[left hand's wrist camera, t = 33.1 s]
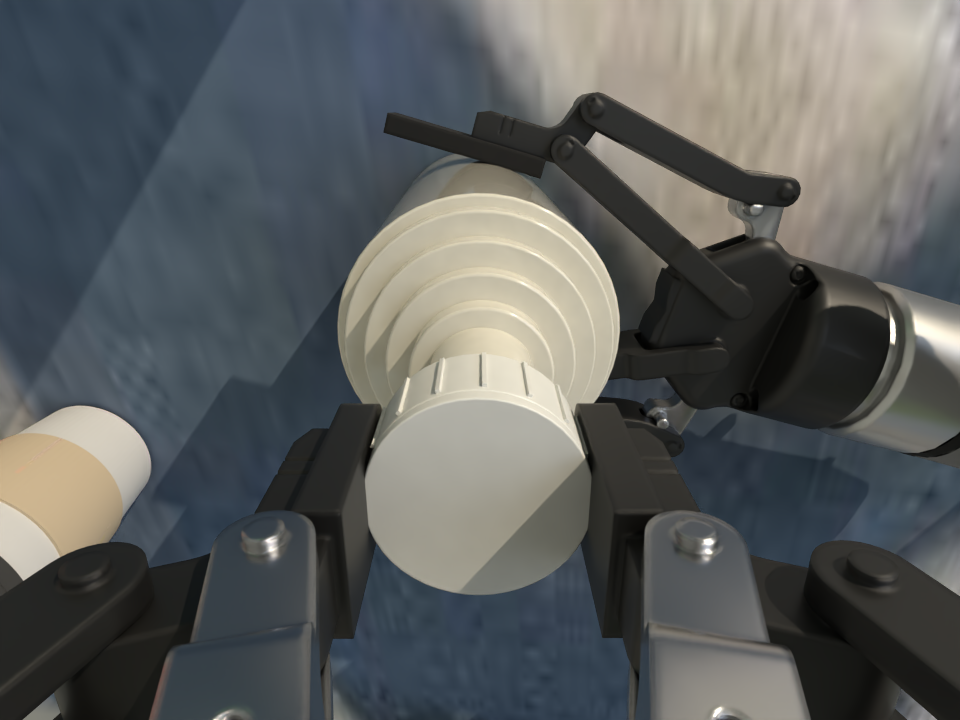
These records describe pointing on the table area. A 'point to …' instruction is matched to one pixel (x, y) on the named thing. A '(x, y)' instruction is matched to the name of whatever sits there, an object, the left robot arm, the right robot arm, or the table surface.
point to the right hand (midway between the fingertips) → (368, 225)
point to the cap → (478, 476)
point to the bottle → (477, 286)
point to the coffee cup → (65, 487)
